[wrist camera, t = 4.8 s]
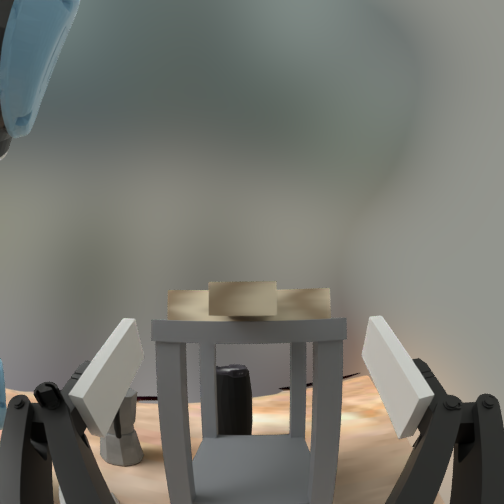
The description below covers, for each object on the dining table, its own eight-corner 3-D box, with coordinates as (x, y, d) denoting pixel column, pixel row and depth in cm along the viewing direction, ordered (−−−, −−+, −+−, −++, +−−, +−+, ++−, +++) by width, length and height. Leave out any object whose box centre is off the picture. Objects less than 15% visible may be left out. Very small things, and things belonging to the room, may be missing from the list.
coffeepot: (100, 443, 46) (91, 369, 50) (140, 444, 50) (133, 371, 54) (100, 476, 33) (85, 386, 37) (151, 476, 37) (141, 388, 41)
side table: (176, 547, 19) (151, 319, 26) (206, 469, 42) (200, 319, 49) (327, 548, 19) (346, 317, 25) (302, 469, 42) (304, 317, 49)
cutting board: (117, 319, 17) (119, 273, 17) (203, 319, 47) (203, 301, 48) (373, 318, 16) (371, 270, 17) (300, 318, 47) (300, 300, 47)
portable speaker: (205, 449, 52) (200, 368, 56) (227, 436, 60) (224, 362, 64) (239, 458, 48) (236, 372, 52) (259, 442, 56) (258, 364, 61)
